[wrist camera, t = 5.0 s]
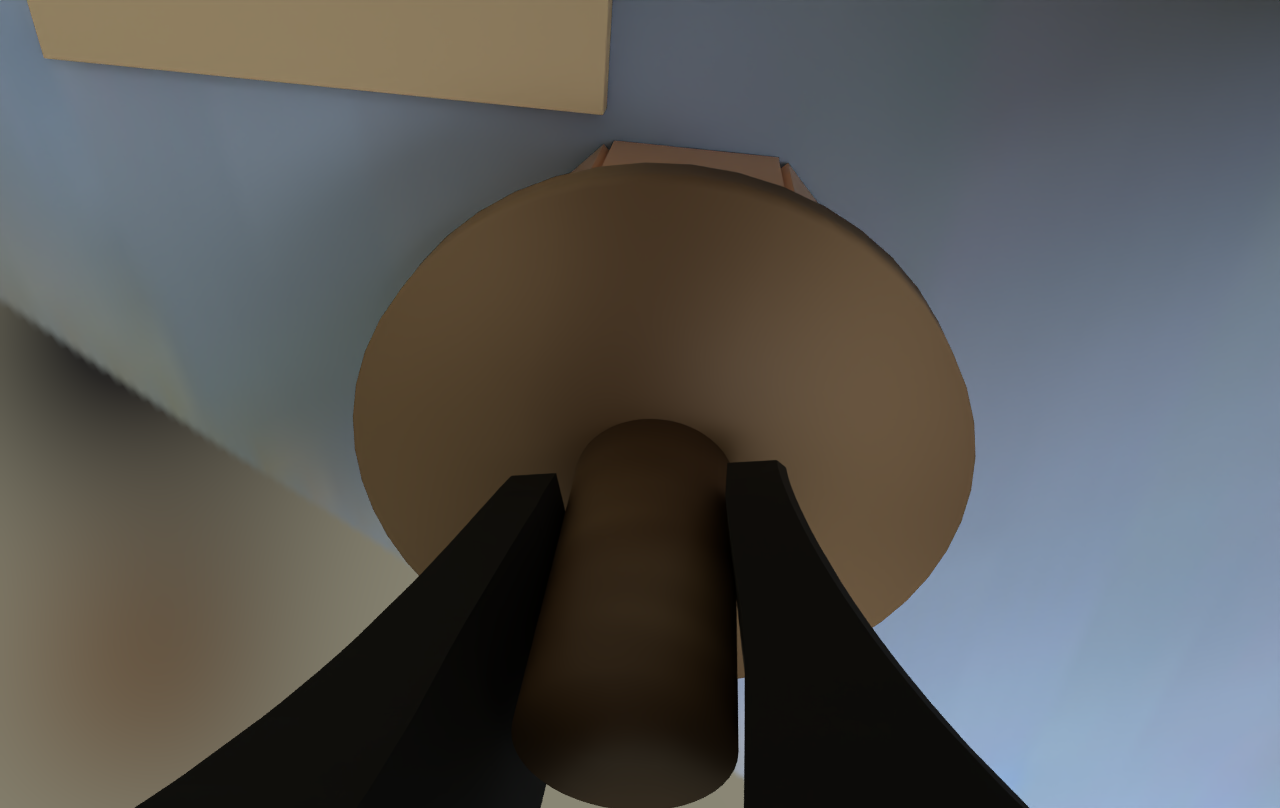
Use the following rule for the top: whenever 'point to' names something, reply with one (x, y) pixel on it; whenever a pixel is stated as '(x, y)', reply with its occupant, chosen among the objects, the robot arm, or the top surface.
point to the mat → (354, 44)
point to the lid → (661, 439)
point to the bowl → (698, 162)
